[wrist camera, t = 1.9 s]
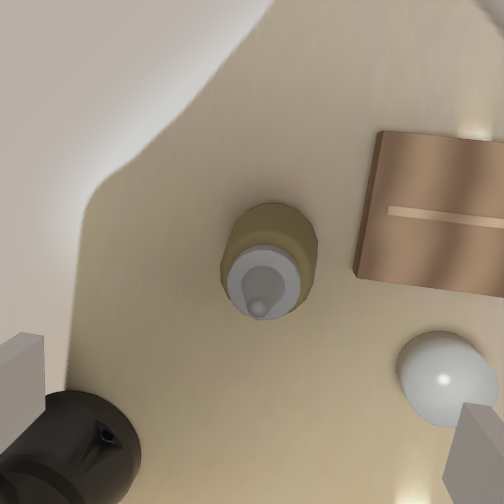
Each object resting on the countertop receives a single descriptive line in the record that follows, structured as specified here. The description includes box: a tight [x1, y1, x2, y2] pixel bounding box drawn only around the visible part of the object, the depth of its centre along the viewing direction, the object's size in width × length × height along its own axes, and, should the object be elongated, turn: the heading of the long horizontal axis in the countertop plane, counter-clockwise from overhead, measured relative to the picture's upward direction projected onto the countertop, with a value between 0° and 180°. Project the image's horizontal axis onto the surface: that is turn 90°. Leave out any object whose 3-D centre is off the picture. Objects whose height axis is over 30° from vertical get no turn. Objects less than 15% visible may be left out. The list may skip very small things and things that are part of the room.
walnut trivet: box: [353, 131, 504, 298], centre depth 34 cm, size 13×13×3 cm
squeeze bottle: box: [220, 204, 318, 320], centre depth 28 cm, size 8×8×18 cm
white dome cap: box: [396, 331, 499, 428], centre depth 37 cm, size 8×8×4 cm
